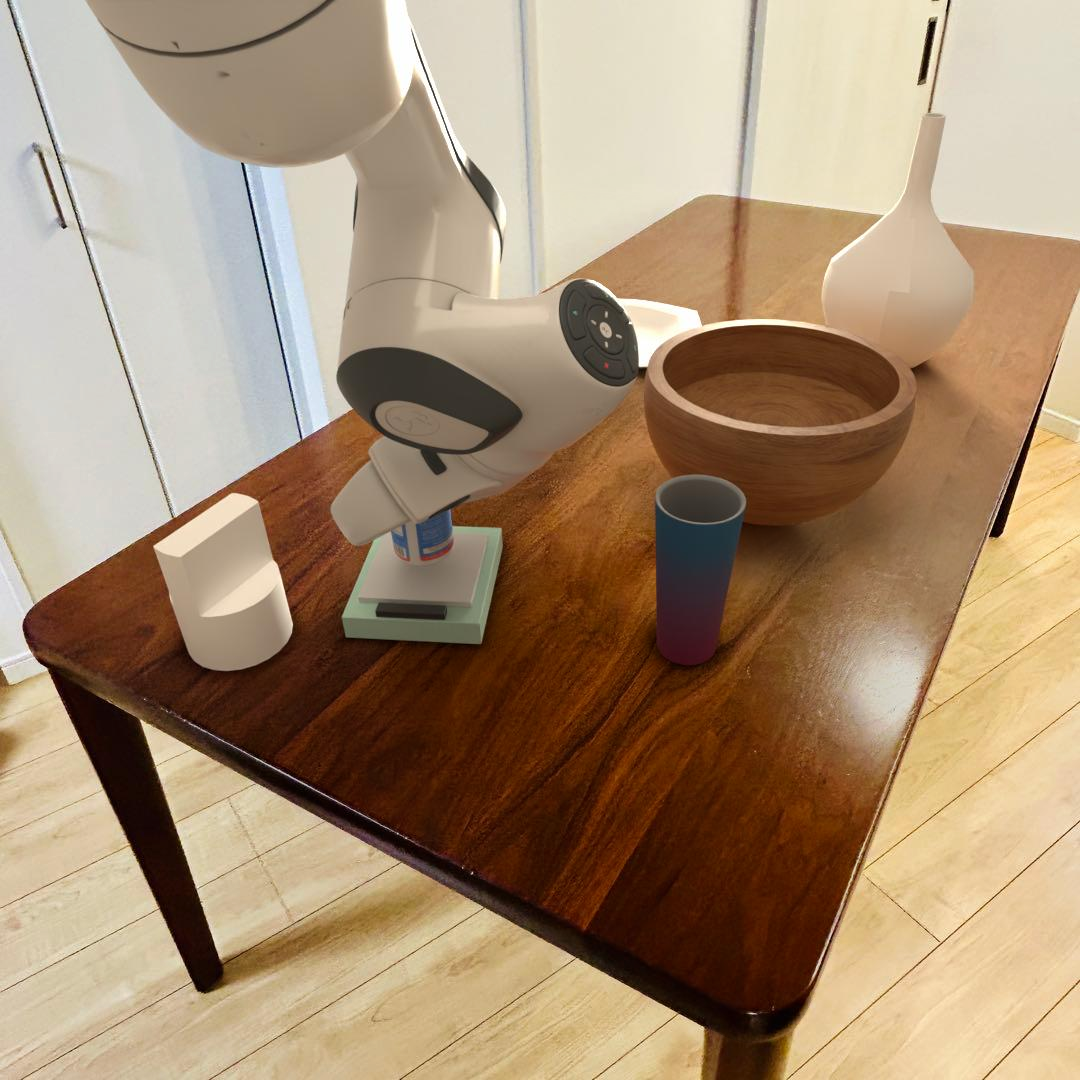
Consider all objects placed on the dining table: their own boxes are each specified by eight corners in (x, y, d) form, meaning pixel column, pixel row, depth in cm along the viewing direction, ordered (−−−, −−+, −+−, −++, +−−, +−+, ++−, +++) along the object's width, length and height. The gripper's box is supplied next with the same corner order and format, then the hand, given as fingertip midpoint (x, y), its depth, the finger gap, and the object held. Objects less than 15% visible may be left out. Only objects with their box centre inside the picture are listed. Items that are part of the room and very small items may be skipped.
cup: (742, 659, 75) (764, 511, 66) (669, 682, 73) (682, 533, 64) (701, 610, 80) (716, 466, 72) (632, 630, 78) (639, 485, 70)
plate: (684, 388, 115) (685, 374, 114) (513, 367, 121) (512, 354, 120) (713, 319, 133) (714, 306, 131) (562, 304, 139) (562, 291, 138)
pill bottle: (460, 533, 83) (451, 440, 77) (447, 569, 78) (436, 474, 73) (402, 530, 83) (388, 437, 78) (386, 565, 79) (371, 470, 73)
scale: (481, 644, 78) (478, 617, 76) (345, 637, 79) (339, 610, 77) (502, 547, 89) (501, 521, 87) (383, 542, 90) (379, 517, 88)
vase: (783, 349, 124) (817, 113, 106) (873, 317, 132) (919, 93, 114) (892, 399, 111) (951, 141, 93) (984, 361, 119) (1055, 117, 101)
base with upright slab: (241, 684, 74) (206, 570, 67) (165, 649, 78) (123, 537, 71) (314, 620, 81) (288, 509, 74) (240, 590, 84) (208, 482, 77)
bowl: (802, 615, 80) (830, 469, 71) (589, 508, 94) (590, 376, 85) (929, 497, 94) (966, 364, 85) (727, 420, 108) (741, 299, 99)
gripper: (554, 351, 73) (477, 421, 84) (354, 451, 61) (295, 517, 72) (596, 417, 73) (514, 477, 84) (405, 530, 61) (339, 583, 72)
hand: (412, 496), depth 78 cm, fingers closed on pill bottle, 5 cm apart
